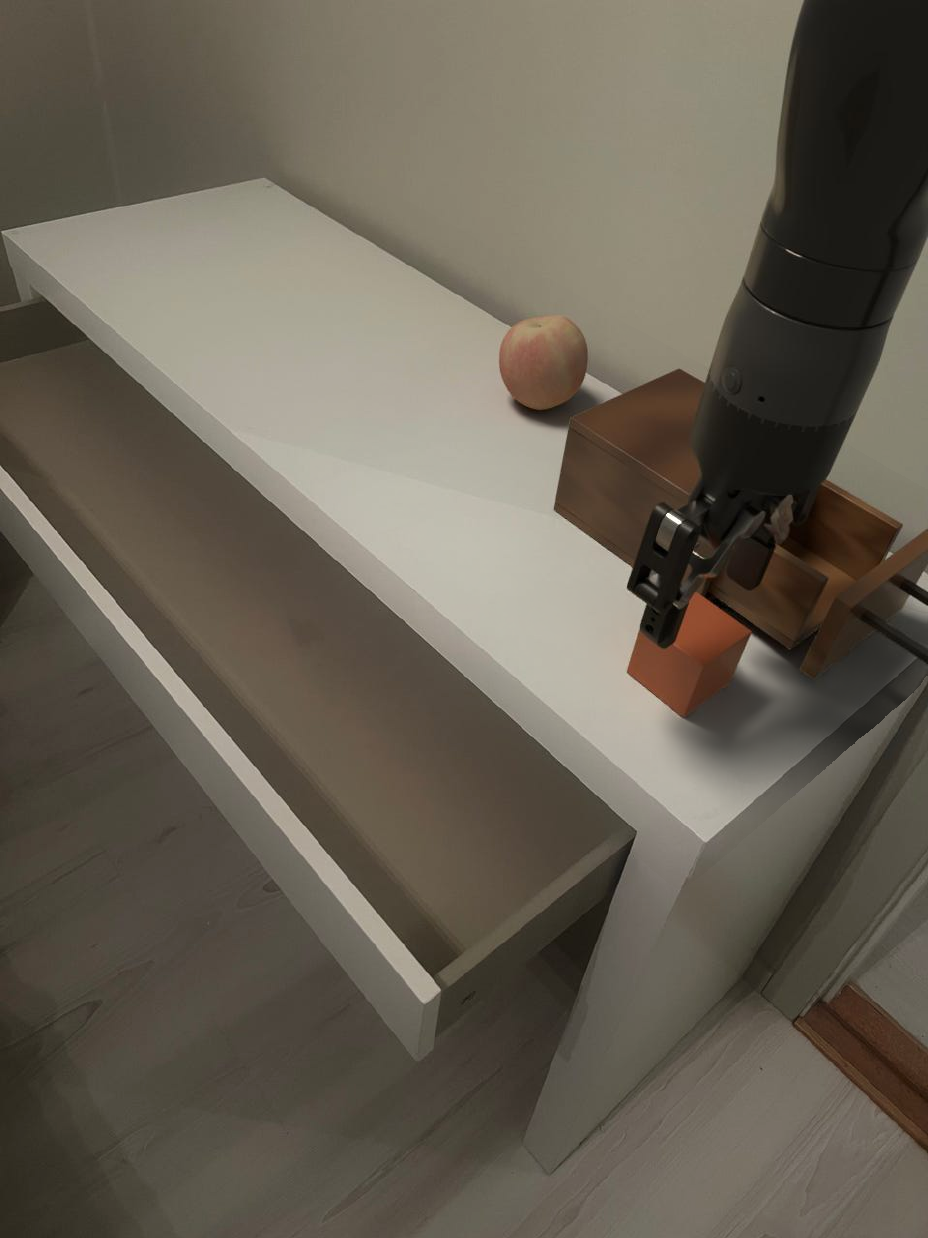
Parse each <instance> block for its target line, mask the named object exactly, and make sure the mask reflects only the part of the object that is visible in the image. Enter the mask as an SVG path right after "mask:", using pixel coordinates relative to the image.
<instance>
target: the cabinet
mask: <svg viewBox="0 0 928 1238" xmlns="http://www.w3.org/2000/svg"><path fill="white" fill-rule="evenodd" d="M704 385H705V382H704V381H702V380H700V379H699V378H697V377H695V376H694V375H692V374H690V373H689V372H686V371H684V370H683V369H681V368H677V369H674V370H672V371H669V372H668V373H665V374H663V375H661V376H659V377H657V378H654V379H652V380H650V381H647V382H646V383H643V384H641V385H639V386H637V387H633V388H632V389H631V390H627V391H625V392H623V393H621V394H619V395H617V396H614V397H612V398H610V399H608V400H606V401H603V402H601V403H599V404H596V405H594V406H593V407H590V408H588V409H586V410H583V411H581V412H578V413H577V414H575V415H573V416H570V418H569V421H568V427H567V433H566V439H565V444H564V449H563V455H562V460H561V465H560V471H559V477H558V481H557V487H556V493H555V499H554V503H553V504H554V505H553V510H554V511H555V512H556V513H558V514H559V515H560V516H561V517H563V518H565V519H566V520H568V521H569V522H570V523H572V524H573V525H575V526H576V527H577V528H578V529H580V530H582V531H583V532H584V533H585V534H587V535H588V536H590V537H591V538H593V539H594V540H595V541H596V542H598V543H599V544H601V545H602V546H603V547H605V548H606V549H607V550H609V551H610V552H612V553H613V554H614V555H615V556H616V557H618V558H619V559H621V560H622V561H623V562H625V563H626V564H628V565H629V566H630V567H632V568H633V566H634V563H635V560H636V557H637V554H638V551H639V548H640V545H641V542H642V539H643V536H644V533H645V530H646V527H647V524H648V521H649V518H650V515H651V512H652V511H653V509H654V508H655V507H656V506H657V505H658V504H659V503H661V502H665V503H666V504H668V505H669V506H670V507H672V508H673V509H675V510H677V509H679V508H681V507H683V506H685V505H686V503H687V500H688V497H689V494H690V493H691V491H692V490H693V488H694V487H695V485H696V484H697V482H698V480H699V478H700V477H701V471H700V468H699V465H698V462H697V459H696V457H695V455H694V453H693V451H692V448H691V444H690V431H691V428H692V424H693V421H694V418H695V414H696V411H697V408H698V405H699V401H700V398H701V395H702V392H703V388H704ZM697 541H698V542H699V547H698V548H697V549H696V550H695V551H697V552H698V553H699V554H701V555H702V556H704V557H705V558H708V557H711V556H712V555H713V554H714V552H715V551H716V550H715V549H713V548H712V547H710V546H709V545H707V544H706V543H704V542H703V541H701V540H700V539H699V538H698V540H697ZM651 571H652V569H651ZM691 571H692V567H691V566H690V565H689V564H688V566H687V569H686V572H685V574H684V577H683V579H682V582H681V584H683V583H684V581H685V580H686V578H687V577H688V576H689V574H690V573H691ZM711 580H712V578H711V577H708V578H706V579H705V580H704V581H703V582H702V584H701V585H700V586H699V588H698V589H697V591H696V592H697V593H699V594H700V595H702V596H703V597H704V598H706V599H707V600H709V601H710V602H711V603H712V602H713V601H715V600H716V599H717V598H716V597H715V596H714V595H712V594H711V593H709V592H708V588H709V585H710V582H711Z"/></svg>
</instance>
